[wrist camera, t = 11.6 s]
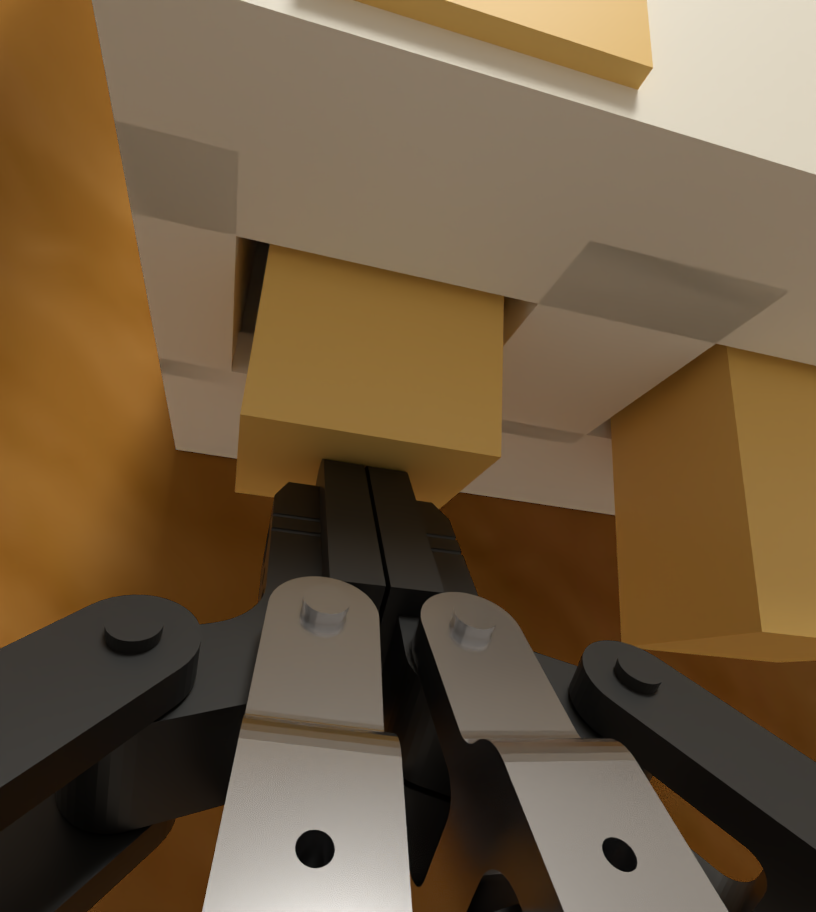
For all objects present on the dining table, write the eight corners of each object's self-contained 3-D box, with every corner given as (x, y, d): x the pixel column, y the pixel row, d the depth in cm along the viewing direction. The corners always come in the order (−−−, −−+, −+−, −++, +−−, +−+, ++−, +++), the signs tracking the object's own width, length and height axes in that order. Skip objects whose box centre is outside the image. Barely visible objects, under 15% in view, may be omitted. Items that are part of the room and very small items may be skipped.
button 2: (621, 647, 14) (762, 631, 10) (609, 403, 16) (723, 319, 12) (777, 662, 15) (956, 653, 11) (747, 430, 17) (890, 358, 13)
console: (176, 449, 19) (77, -82, 6) (212, 277, 21) (196, -390, 8) (868, 553, 24) (1603, 396, 11) (841, 408, 27) (1434, 139, 14)
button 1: (234, 491, 13) (239, 413, 9) (275, 252, 15) (292, 112, 11) (427, 518, 14) (501, 456, 10) (440, 289, 16) (505, 169, 12)
